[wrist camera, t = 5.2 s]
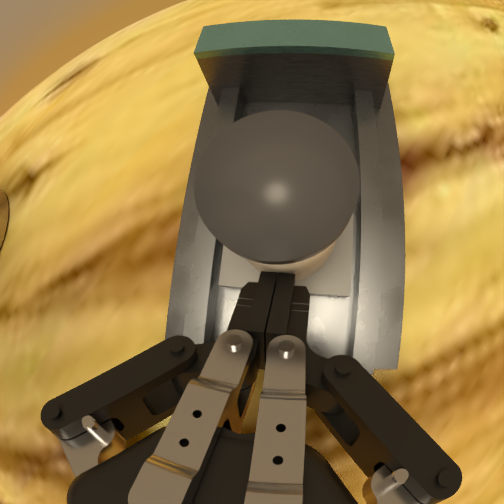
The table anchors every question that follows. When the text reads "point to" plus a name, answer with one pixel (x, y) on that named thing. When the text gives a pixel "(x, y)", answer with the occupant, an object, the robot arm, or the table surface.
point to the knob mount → (361, 144)
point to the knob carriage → (281, 201)
